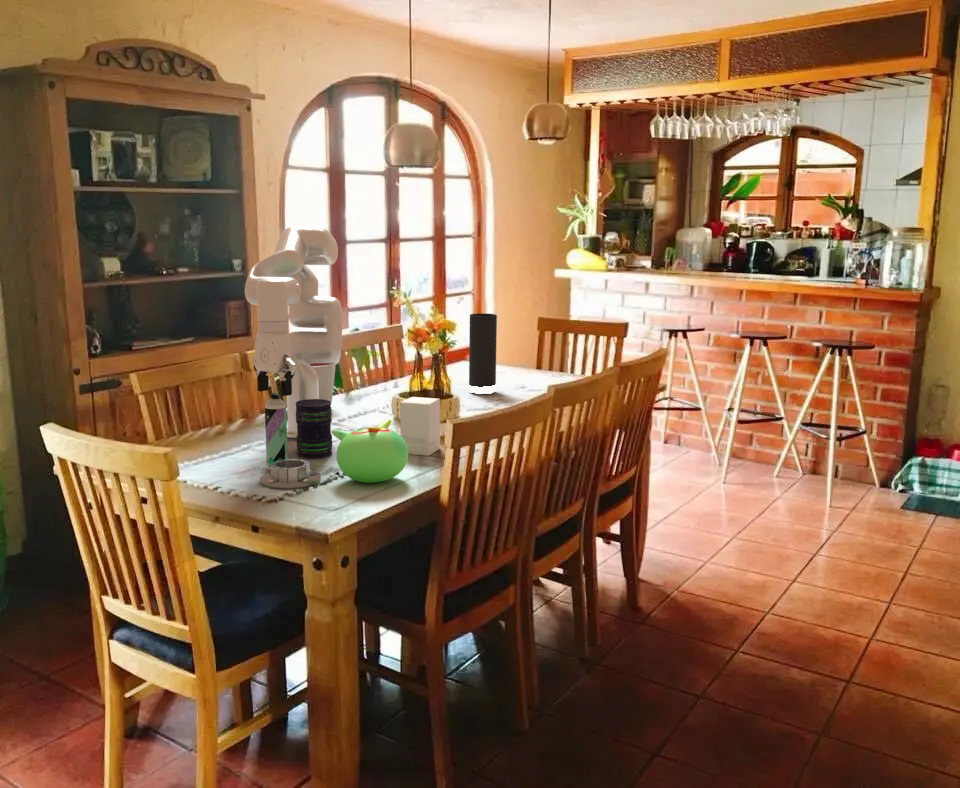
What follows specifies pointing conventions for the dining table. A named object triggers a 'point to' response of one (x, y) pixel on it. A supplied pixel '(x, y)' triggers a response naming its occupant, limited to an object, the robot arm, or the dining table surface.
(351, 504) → the dining table surface
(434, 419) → the supplement box
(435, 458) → the dining table surface
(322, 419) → the storage jar
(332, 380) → the white bucket
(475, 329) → the black tall cylinder
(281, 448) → the spray can
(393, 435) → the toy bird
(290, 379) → the robot arm
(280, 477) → the collar
